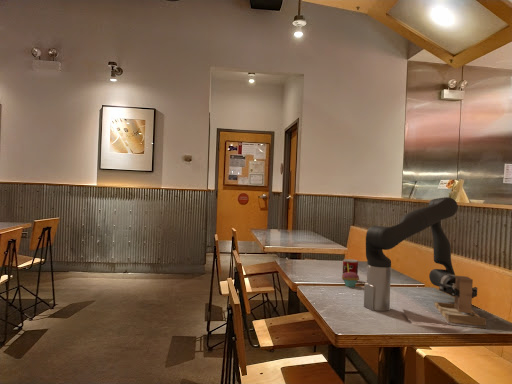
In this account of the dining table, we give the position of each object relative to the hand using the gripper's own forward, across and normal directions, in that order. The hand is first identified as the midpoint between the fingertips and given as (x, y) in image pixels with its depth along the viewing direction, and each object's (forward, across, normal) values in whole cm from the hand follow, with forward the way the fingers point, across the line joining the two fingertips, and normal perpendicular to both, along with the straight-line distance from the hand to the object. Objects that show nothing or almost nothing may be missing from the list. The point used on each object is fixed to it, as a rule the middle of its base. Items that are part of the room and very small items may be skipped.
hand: (465, 294), depth 139 cm
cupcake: (-50, -39, +12) cm, 65 cm away
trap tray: (-10, 0, +11) cm, 15 cm away
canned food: (-64, -39, +12) cm, 76 cm away
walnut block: (-3, 0, +6) cm, 7 cm away
